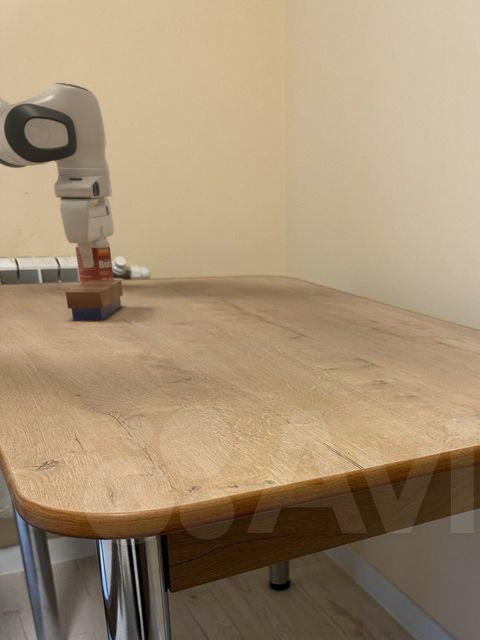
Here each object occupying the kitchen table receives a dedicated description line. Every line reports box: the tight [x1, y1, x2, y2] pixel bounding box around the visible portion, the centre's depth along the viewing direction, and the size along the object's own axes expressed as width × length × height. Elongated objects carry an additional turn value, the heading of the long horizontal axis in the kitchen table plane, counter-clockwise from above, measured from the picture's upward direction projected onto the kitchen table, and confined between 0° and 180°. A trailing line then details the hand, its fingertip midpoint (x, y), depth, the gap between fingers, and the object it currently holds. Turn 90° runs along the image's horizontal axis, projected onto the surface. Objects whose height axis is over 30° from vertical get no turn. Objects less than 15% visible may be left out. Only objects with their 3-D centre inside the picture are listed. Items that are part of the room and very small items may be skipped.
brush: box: [65, 279, 124, 321], centre depth 110 cm, size 13×5×4 cm, turn 4°
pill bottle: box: [74, 226, 115, 285], centre depth 134 cm, size 6×6×11 cm
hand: (95, 264), depth 135 cm, fingers open, 7 cm apart
